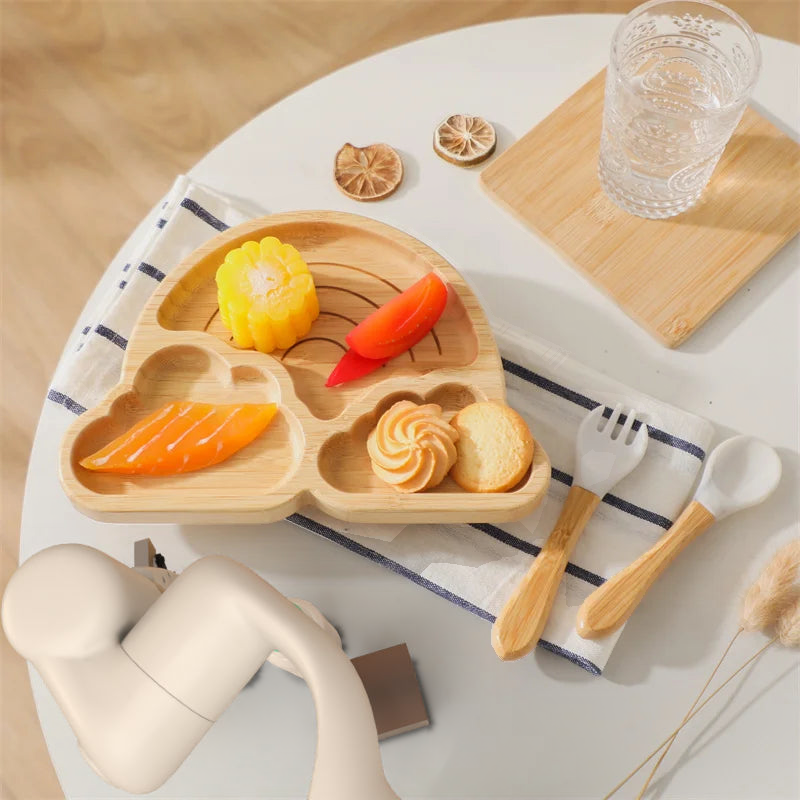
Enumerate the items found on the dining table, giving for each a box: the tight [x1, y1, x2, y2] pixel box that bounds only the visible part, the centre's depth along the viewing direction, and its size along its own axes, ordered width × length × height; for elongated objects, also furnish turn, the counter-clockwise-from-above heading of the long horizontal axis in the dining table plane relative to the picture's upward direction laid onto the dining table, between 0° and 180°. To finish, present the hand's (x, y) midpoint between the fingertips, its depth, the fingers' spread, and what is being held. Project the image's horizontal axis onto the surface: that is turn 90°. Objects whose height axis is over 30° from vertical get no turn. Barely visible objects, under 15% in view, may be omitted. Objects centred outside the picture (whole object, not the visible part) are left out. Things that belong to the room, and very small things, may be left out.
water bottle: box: [266, 597, 343, 680], centre depth 98 cm, size 7×7×25 cm
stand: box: [349, 642, 430, 741], centre depth 95 cm, size 7×7×26 cm
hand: (187, 651), depth 81 cm, fingers open, 9 cm apart
